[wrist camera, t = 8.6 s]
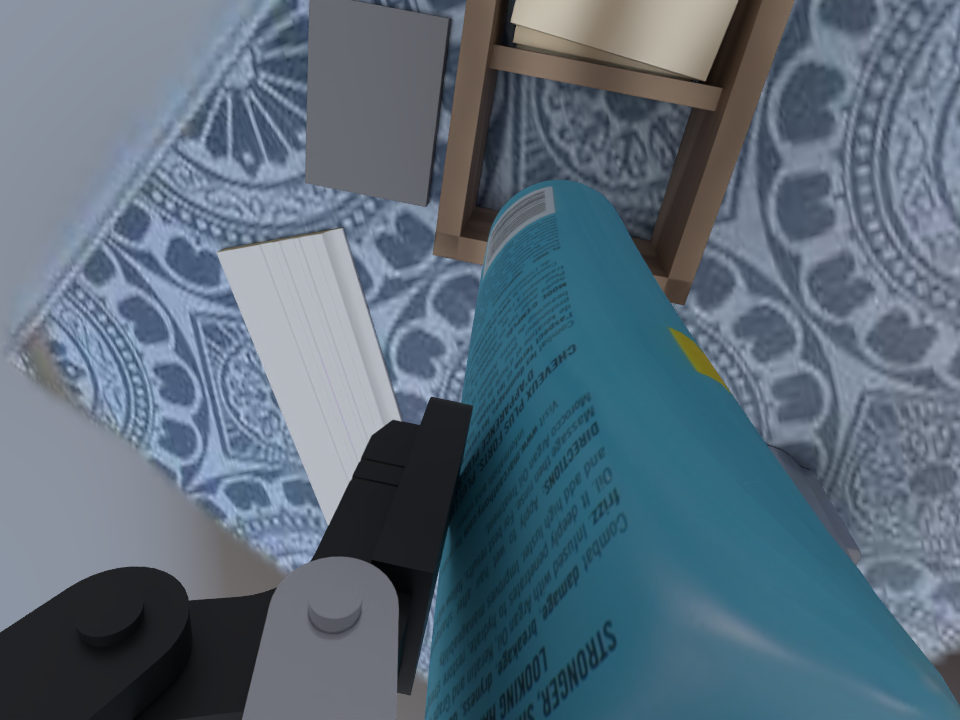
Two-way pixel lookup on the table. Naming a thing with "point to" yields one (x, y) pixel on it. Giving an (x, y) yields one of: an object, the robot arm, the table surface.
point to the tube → (635, 516)
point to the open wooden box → (714, 102)
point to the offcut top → (637, 28)
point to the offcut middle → (576, 49)
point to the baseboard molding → (315, 350)
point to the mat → (374, 98)
